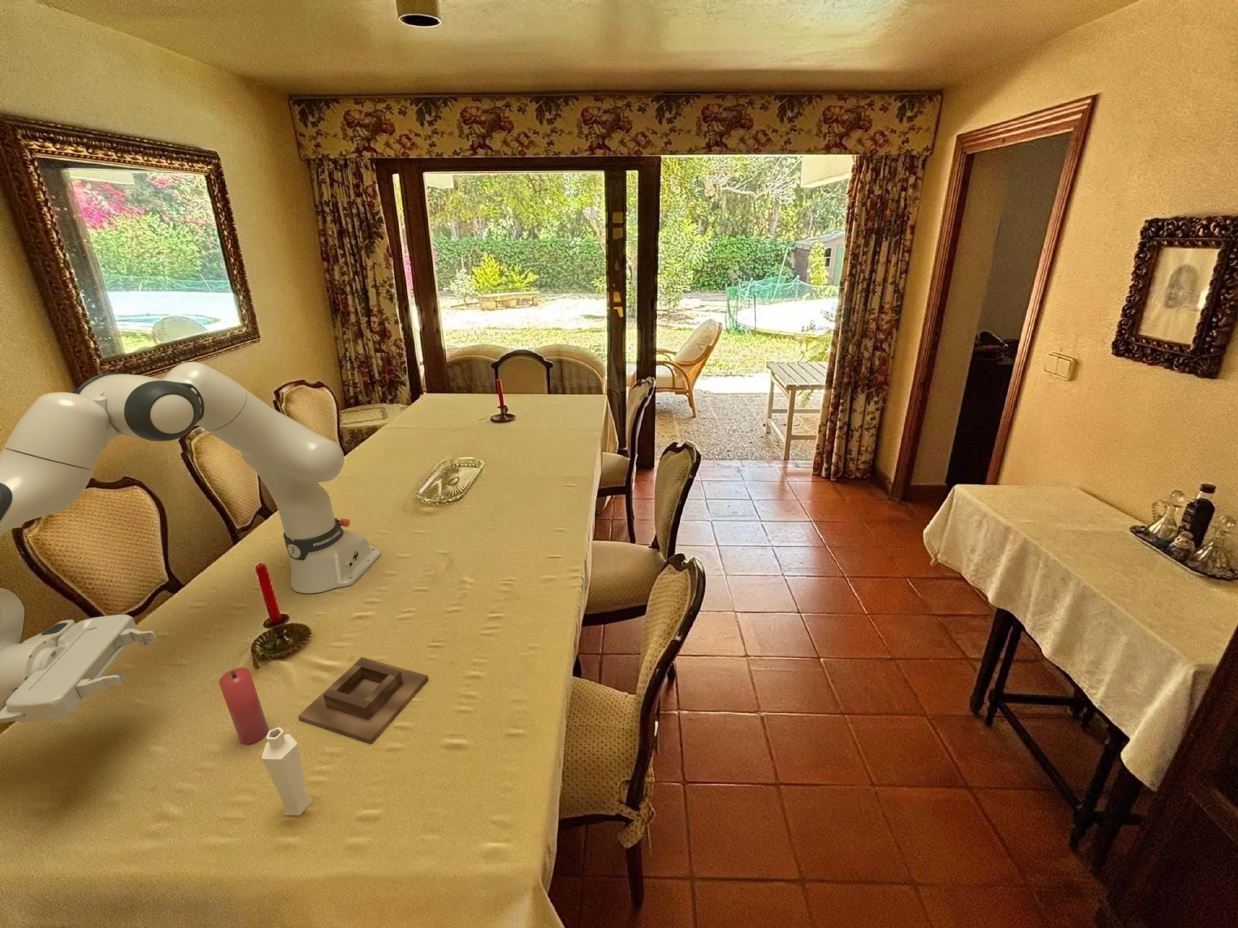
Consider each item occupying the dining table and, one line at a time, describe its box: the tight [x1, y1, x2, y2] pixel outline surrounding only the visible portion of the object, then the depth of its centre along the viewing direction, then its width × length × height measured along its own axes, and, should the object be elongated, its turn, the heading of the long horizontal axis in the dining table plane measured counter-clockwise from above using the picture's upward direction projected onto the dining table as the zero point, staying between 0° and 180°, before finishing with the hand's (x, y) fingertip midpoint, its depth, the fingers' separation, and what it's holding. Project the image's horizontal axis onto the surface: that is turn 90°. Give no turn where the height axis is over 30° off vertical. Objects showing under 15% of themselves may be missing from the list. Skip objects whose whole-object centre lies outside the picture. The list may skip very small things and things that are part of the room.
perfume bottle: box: [261, 726, 313, 816], centre depth 86 cm, size 5×4×15 cm
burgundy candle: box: [218, 667, 270, 746], centre depth 99 cm, size 4×4×14 cm
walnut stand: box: [297, 656, 429, 745], centre depth 108 cm, size 16×16×4 cm
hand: (138, 656), depth 91 cm, fingers open, 8 cm apart
